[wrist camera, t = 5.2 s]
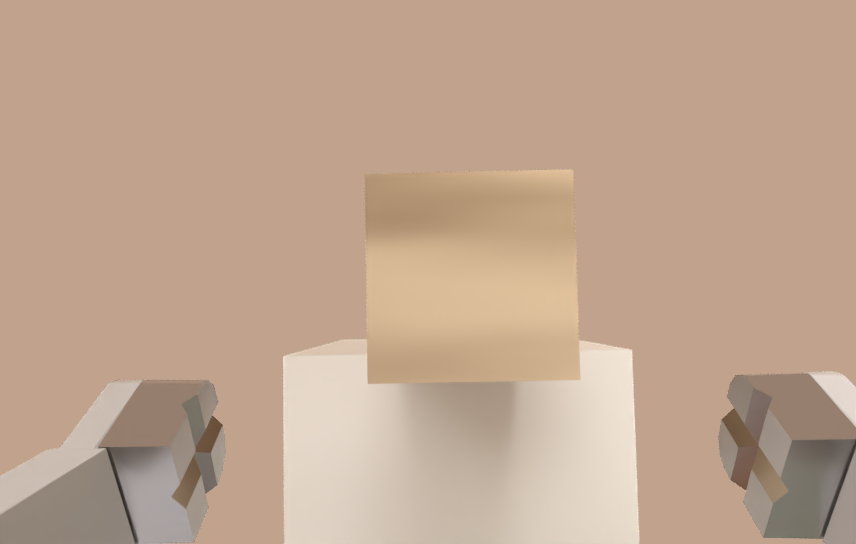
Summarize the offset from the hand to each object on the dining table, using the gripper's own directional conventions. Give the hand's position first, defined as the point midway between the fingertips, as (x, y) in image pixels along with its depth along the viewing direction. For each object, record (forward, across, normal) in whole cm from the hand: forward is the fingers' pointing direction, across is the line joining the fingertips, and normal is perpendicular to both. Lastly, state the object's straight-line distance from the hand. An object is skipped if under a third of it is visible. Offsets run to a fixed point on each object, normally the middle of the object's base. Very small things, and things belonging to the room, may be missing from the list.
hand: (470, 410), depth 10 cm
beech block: (+10, 0, +5) cm, 11 cm away
